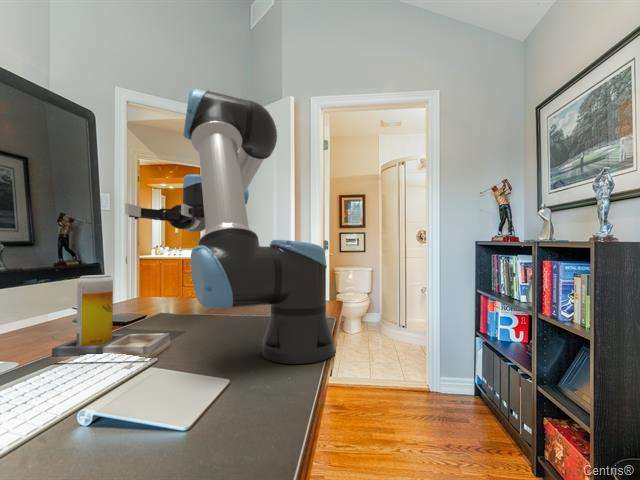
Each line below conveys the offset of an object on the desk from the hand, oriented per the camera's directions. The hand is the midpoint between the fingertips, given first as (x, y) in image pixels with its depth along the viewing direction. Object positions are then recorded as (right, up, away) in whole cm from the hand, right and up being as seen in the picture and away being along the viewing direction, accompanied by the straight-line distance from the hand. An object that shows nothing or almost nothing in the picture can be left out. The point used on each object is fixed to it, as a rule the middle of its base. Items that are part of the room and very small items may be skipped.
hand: (154, 208), depth 81 cm
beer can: (-5, -31, -14) cm, 34 cm away
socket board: (-1, -32, -14) cm, 34 cm away
